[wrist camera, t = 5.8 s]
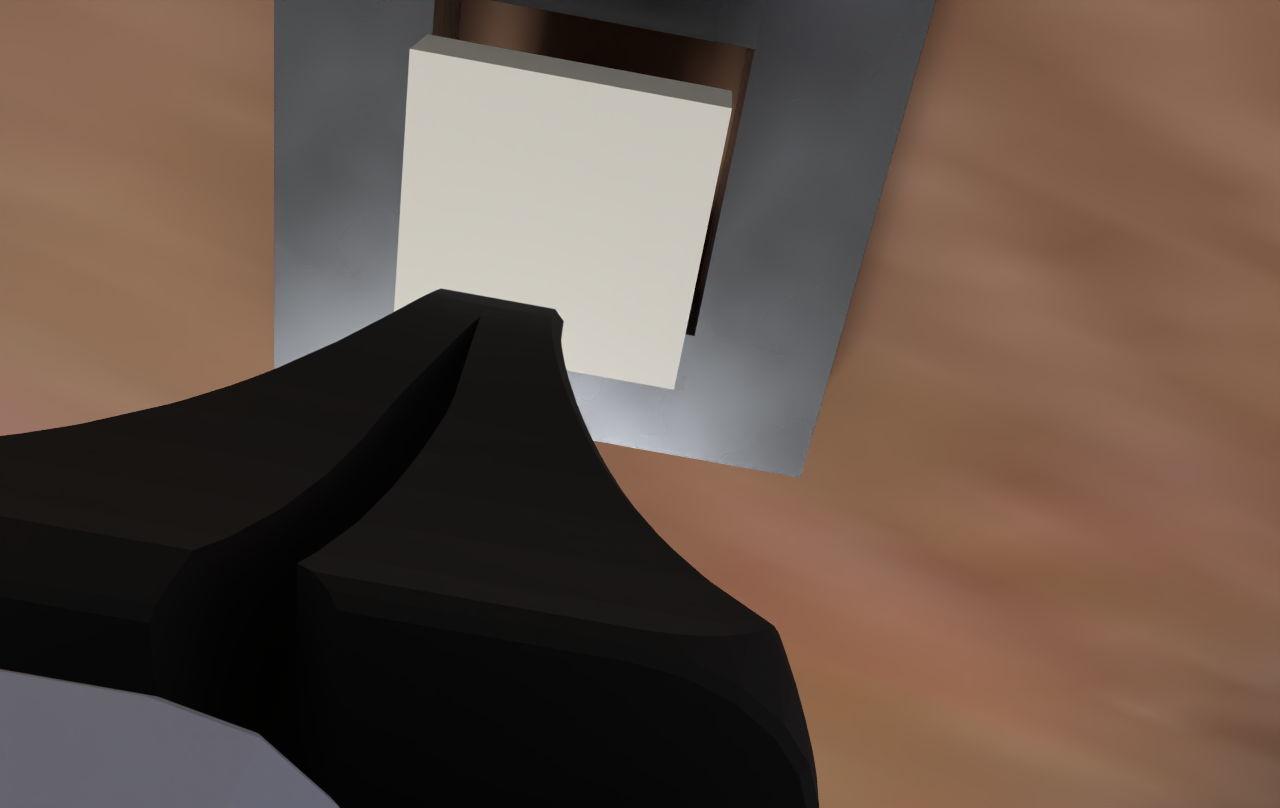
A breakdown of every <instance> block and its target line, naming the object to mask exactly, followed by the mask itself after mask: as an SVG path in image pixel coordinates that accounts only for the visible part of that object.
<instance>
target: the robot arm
mask: <svg viewBox="0 0 1280 808" xmlns="http://www.w3.org/2000/svg"><path fill="white" fill-rule="evenodd" d="M563 324H564V321H563V319H562V318H561V317H560V315H559V314H558V312H557V311H556V310H555V309H552V308H547V307H541V306H536V305H530V304H525V303H519V302H514V301H508V300H503V299H497V298H491V297H486V296H480V295H475V294H469V293H464V292H458V291H453V290H447V289H442V288H441V289H438V290H435V291H433V292H431V293H429V294H427V295H425V296H423V297H421V298H419V299H417V300H415V301H413V302H411V303H409V304H408V305H406V306H404V307H402V308H400V309H398V310H396V311H395V312H393V313H391V314H389V315H387V316H385V317H383V318H381V319H380V320H378V321H376V322H374V323H372V324H370V325H368V326H366V327H364V328H362V329H360V330H358V331H356V332H354V333H352V334H351V335H349V336H347V337H345V338H343V339H341V340H339V341H337V342H335V343H332V344H330V345H328V346H326V347H323V348H321V349H319V350H316V351H314V352H312V353H310V354H307V355H305V356H303V357H301V358H298V359H296V360H294V361H292V362H289V363H287V364H285V365H283V366H280V367H278V368H276V369H274V370H271V371H269V372H266V373H264V374H261V375H258V376H256V377H253V378H250V379H248V380H245V381H242V382H239V383H236V384H234V385H231V386H228V387H224V388H221V389H218V390H215V391H212V392H208V393H205V394H202V395H199V396H196V397H192V398H189V399H186V400H182V401H179V402H175V403H171V404H168V405H163V406H159V407H154V408H150V409H145V410H141V411H136V412H132V413H128V414H123V415H119V416H114V417H110V418H105V419H101V420H96V421H92V422H88V423H83V424H77V425H72V426H66V427H60V428H53V429H47V430H41V431H34V432H28V433H22V434H14V435H6V436H0V808H819V801H818V788H817V776H816V769H815V763H814V756H813V751H812V746H811V742H810V738H809V733H808V729H807V725H806V720H805V716H804V713H803V709H802V705H801V701H800V698H799V694H798V690H797V686H796V683H795V680H794V677H793V674H792V671H791V668H790V665H789V662H788V658H787V655H786V652H785V649H784V647H783V644H782V641H781V638H780V635H779V633H778V631H777V630H776V628H775V627H774V626H773V625H772V624H771V623H769V622H768V621H766V620H765V619H763V618H762V617H760V616H759V615H758V614H756V613H755V612H753V611H752V610H750V609H749V608H747V607H746V606H745V605H743V604H742V603H740V602H739V601H737V600H736V599H734V598H733V597H732V596H730V595H729V594H727V593H726V592H724V591H723V590H721V589H720V588H719V587H717V586H716V585H714V584H713V583H711V582H710V581H709V580H708V579H706V578H705V577H704V576H703V575H701V574H700V573H699V572H698V571H697V570H696V569H695V568H694V567H692V566H691V565H690V564H689V563H688V562H687V561H686V560H684V559H683V558H682V557H681V556H680V555H679V554H678V553H676V552H675V551H674V550H673V549H672V548H671V547H670V546H669V545H668V544H667V543H666V542H665V541H664V540H663V539H662V538H661V537H660V536H659V535H658V534H657V533H656V532H655V531H654V529H653V528H652V527H651V526H650V525H649V524H648V523H647V521H646V520H645V519H644V518H643V517H642V516H641V515H640V513H639V512H638V511H637V510H636V509H635V508H634V506H633V505H632V504H631V502H630V501H629V500H628V498H627V497H626V495H625V494H624V493H623V491H622V490H621V488H620V487H619V485H618V484H617V482H616V480H615V479H614V477H613V476H612V474H611V473H610V471H609V469H608V468H607V466H606V464H605V462H604V461H603V459H602V457H601V455H600V453H599V451H598V450H597V448H596V446H595V444H594V442H593V440H592V437H591V435H590V433H589V431H588V429H587V426H586V424H585V422H584V420H583V417H582V415H581V412H580V410H579V407H578V405H577V402H576V399H575V396H574V393H573V390H572V387H571V383H570V380H569V377H568V374H567V370H566V366H565V362H564V356H563V351H562V344H561V337H562V330H563Z"/></svg>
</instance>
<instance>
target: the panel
mask: <svg viewBox="0 0 1280 808" xmlns="http://www.w3.org/2000/svg"><path fill="white" fill-rule="evenodd" d="M493 1H498V2H504V3H509V4H515V5H520V6H525V7H531V8H536V9H541V10H547V11H552V12H557V13H563V14H568V15H574V16H579V17H584V18H590V19H595V20H600V21H606V22H611V23H617V24H622V25H627V26H633V27H638V28H643V29H649V30H654V31H659V32H665V33H670V34H676V35H681V36H686V37H692V38H697V39H702V40H708V41H713V42H719V43H724V44H729V45H735V46H740V47H745V48H748V51H747V56H746V61H745V66H744V71H743V75H742V80H741V85H740V90H739V95H738V100H737V104H736V109H735V114H734V119H733V124H732V128H731V133H730V138H729V143H728V148H727V152H726V157H725V162H724V167H723V172H722V176H721V181H720V186H719V191H718V196H717V200H716V205H715V210H714V215H713V220H712V225H711V229H710V234H709V239H708V244H707V249H706V253H705V258H704V263H703V268H702V273H701V277H700V282H699V287H698V291H694V295H693V300H692V305H691V309H690V314H689V319H688V324H687V329H686V334H685V338H684V343H683V348H682V353H681V358H680V363H679V368H678V372H677V377H676V382H675V387H674V390H672V389H667V388H661V387H656V386H650V385H645V384H639V383H634V382H628V381H623V380H617V379H612V378H606V377H601V376H595V375H589V374H584V373H578V372H573V371H567V374H568V377H569V380H570V383H571V387H572V390H573V393H574V396H575V399H576V402H577V405H578V407H579V410H580V412H581V415H582V417H583V420H584V422H585V424H586V426H587V429H588V431H589V433H590V435H591V437H592V440H594V441H599V442H605V443H610V444H616V445H621V446H627V447H633V448H638V449H644V450H649V451H655V452H660V453H666V454H671V455H677V456H683V457H688V458H694V459H699V460H705V461H710V462H716V463H722V464H727V465H733V466H738V467H744V468H749V469H755V470H760V471H766V472H772V473H777V474H783V475H788V476H794V477H799V478H800V477H801V474H802V470H803V467H804V463H805V460H806V456H807V453H808V449H809V446H810V442H811V439H812V435H813V431H814V428H815V424H816V421H817V417H818V414H819V410H820V407H821V403H822V400H823V396H824V393H825V389H826V386H827V382H828V379H829V375H830V372H831V368H832V365H833V361H834V358H835V354H836V351H837V347H838V344H839V340H840V337H841V333H842V329H843V326H844V322H845V319H846V315H847V312H848V308H849V305H850V301H851V298H852V294H853V291H854V287H855V284H856V280H857V277H858V273H859V270H860V266H861V263H862V259H863V256H864V252H865V249H866V245H867V242H868V238H869V235H870V231H871V227H872V224H873V220H874V217H875V213H876V210H877V206H878V203H879V199H880V196H881V192H882V189H883V185H884V182H885V178H886V175H887V171H888V168H889V164H890V161H891V157H892V154H893V150H894V147H895V143H896V140H897V136H898V133H899V129H900V125H901V122H902V118H903V115H904V111H905V108H906V104H907V101H908V97H909V94H910V90H911V87H912V83H913V80H914V76H915V73H916V69H917V66H918V62H919V59H920V55H921V52H922V48H923V45H924V41H925V38H926V34H927V31H928V27H929V23H930V20H931V16H932V13H933V9H934V6H935V2H936V0H493ZM460 2H461V0H274V369H276V368H278V367H280V366H283V365H285V364H287V363H289V362H292V361H294V360H296V359H298V358H301V357H303V356H305V355H307V354H310V353H312V352H314V351H316V350H319V349H321V348H323V347H326V346H328V345H330V344H332V343H335V342H337V341H339V340H341V339H343V338H345V337H347V336H349V335H351V334H352V333H354V332H356V331H358V330H360V329H362V328H364V327H366V326H368V325H370V324H372V323H374V322H376V321H378V320H380V319H381V318H383V317H385V316H387V315H389V314H391V313H393V312H394V303H395V286H396V270H397V253H398V236H399V219H400V203H401V186H402V169H403V152H404V136H405V119H406V102H407V85H408V69H409V52H410V48H411V47H412V46H414V45H415V44H416V43H417V42H419V41H420V40H421V39H422V38H424V37H425V36H426V35H427V34H429V35H435V36H440V37H445V38H451V39H456V40H457V39H458V27H459V15H460Z"/></svg>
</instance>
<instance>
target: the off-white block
mask: <svg viewBox="0 0 1280 808" xmlns="http://www.w3.org/2000/svg"><path fill="white" fill-rule="evenodd" d="M731 111H732V91H731V90H726V89H720V88H715V87H709V86H704V85H699V84H693V83H688V82H682V81H677V80H672V79H666V78H661V77H656V76H650V75H645V74H639V73H634V72H629V71H623V70H618V69H612V68H607V67H602V66H596V65H591V64H585V63H580V62H575V61H569V60H564V59H559V58H553V57H548V56H542V55H537V54H532V53H526V52H521V51H515V50H510V49H505V48H499V47H494V46H488V45H483V44H478V43H472V42H467V41H461V40H456V39H451V38H445V37H440V36H435V35H429V34H427V35H426V36H425V37H424V38H422V39H421V40H420V41H419V42H417V43H416V44H415V45H414V46H412V47H411V48H410V52H409V69H408V85H407V102H406V119H405V136H404V152H403V169H402V186H401V203H400V219H399V236H398V253H397V270H396V286H395V303H394V312H395V311H396V310H398V309H400V308H402V307H404V306H406V305H408V304H409V303H411V302H413V301H415V300H417V299H419V298H421V297H423V296H425V295H427V294H429V293H431V292H433V291H435V290H438V289H441V288H442V289H447V290H453V291H458V292H464V293H469V294H475V295H480V296H486V297H491V298H497V299H503V300H508V301H514V302H519V303H525V304H530V305H536V306H541V307H547V308H552V309H555V310H556V311H557V312H558V314H559V315H560V317H561V318H562V319H563V321H564V324H563V330H562V337H561V344H562V351H563V356H564V362H565V366H566V370H567V371H573V372H578V373H584V374H589V375H595V376H601V377H606V378H612V379H617V380H623V381H628V382H634V383H639V384H645V385H650V386H656V387H661V388H667V389H672V390H674V387H675V382H676V377H677V372H678V368H679V363H680V358H681V353H682V348H683V343H684V338H685V334H686V329H687V324H688V319H689V314H690V309H691V305H692V300H693V295H694V290H695V285H696V280H697V275H698V271H699V266H700V261H701V256H702V251H703V246H704V241H705V237H706V232H707V227H708V222H709V217H710V212H711V208H712V203H713V198H714V193H715V188H716V183H717V178H718V174H719V169H720V164H721V159H722V154H723V149H724V145H725V140H726V135H727V130H728V125H729V120H730V115H731Z"/></svg>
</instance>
